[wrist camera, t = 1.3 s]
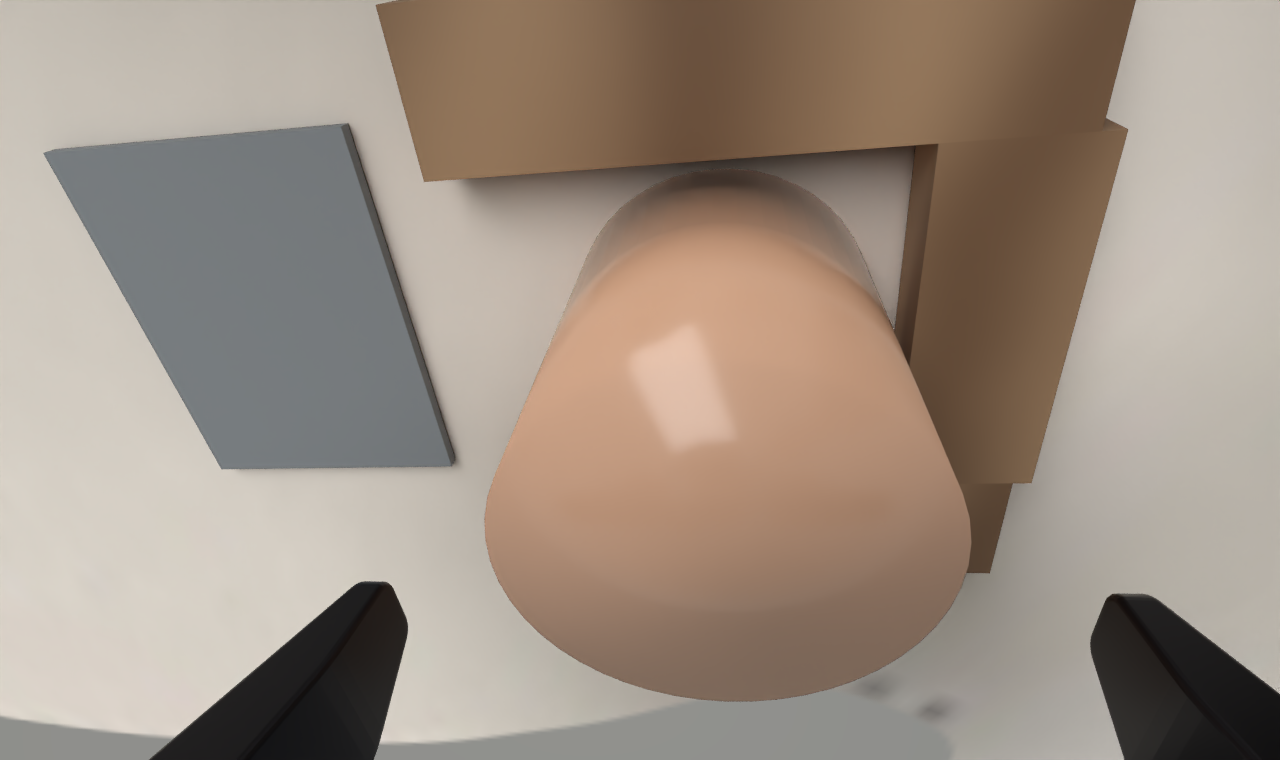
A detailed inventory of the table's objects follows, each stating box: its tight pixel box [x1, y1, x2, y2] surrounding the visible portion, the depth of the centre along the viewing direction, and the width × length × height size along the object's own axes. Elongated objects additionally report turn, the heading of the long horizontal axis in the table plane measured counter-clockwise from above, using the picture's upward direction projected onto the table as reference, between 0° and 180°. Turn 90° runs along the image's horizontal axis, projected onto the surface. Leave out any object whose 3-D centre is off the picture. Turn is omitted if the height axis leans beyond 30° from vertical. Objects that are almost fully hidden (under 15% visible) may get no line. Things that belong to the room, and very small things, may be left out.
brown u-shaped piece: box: [376, 0, 1136, 573], centre depth 15 cm, size 12×14×2 cm
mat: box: [44, 123, 455, 469], centre depth 17 cm, size 7×9×1 cm
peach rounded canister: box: [485, 169, 971, 701], centre depth 13 cm, size 10×7×8 cm
